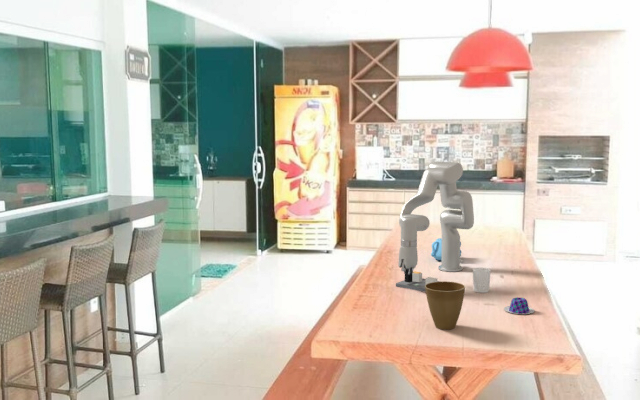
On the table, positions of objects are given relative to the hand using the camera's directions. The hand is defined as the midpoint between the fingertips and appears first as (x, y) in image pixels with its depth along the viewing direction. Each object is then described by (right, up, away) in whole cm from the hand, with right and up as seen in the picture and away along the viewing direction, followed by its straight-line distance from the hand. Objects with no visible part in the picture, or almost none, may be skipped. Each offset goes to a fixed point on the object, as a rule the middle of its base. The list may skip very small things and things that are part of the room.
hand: (408, 281), depth 297 cm
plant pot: (+6, -10, -56) cm, 57 cm away
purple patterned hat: (+40, -8, -37) cm, 55 cm away
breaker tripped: (+5, 0, +6) cm, 7 cm away
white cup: (+33, -4, -6) cm, 33 cm away
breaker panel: (+9, -3, +2) cm, 10 cm away
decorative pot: (+30, +4, +60) cm, 67 cm away
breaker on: (+10, -2, -5) cm, 11 cm away
